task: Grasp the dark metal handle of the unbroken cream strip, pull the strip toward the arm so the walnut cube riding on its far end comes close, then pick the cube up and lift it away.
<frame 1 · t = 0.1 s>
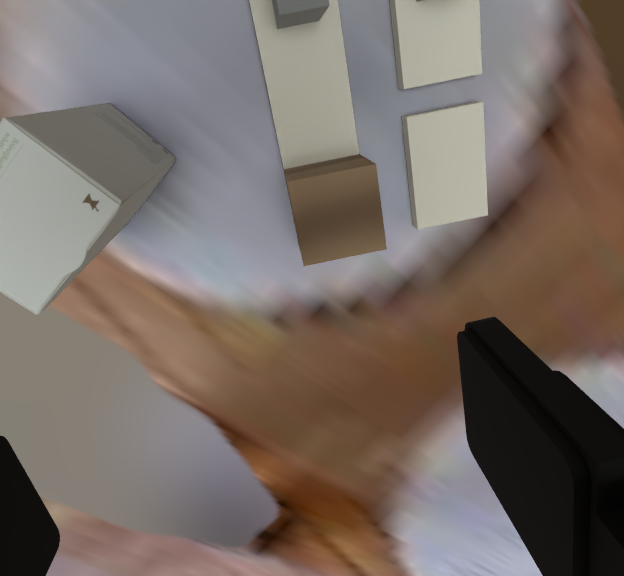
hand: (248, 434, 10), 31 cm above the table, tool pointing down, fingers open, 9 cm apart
broken strip: (437, 95, 37), on the table
walnut cube: (328, 199, 38), point 1 cm above the table, touching cream strip
cream strip: (317, 123, 33), point 4 cm above the table, slide at 0.0 cm, touching walnut cube
skincare box: (116, 173, 37), on the table
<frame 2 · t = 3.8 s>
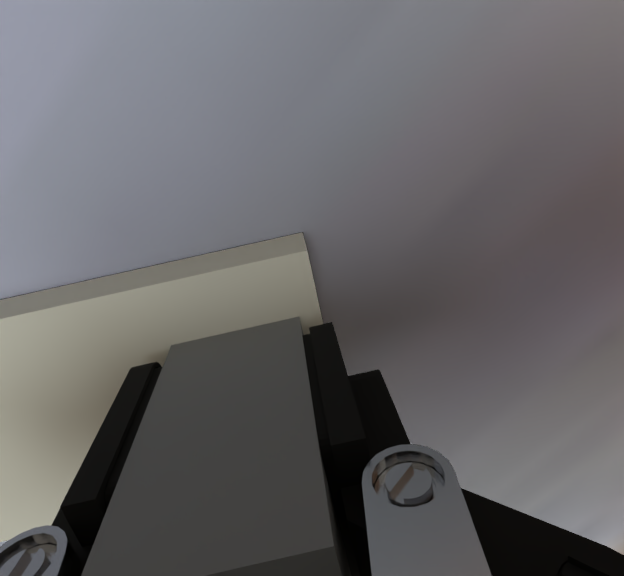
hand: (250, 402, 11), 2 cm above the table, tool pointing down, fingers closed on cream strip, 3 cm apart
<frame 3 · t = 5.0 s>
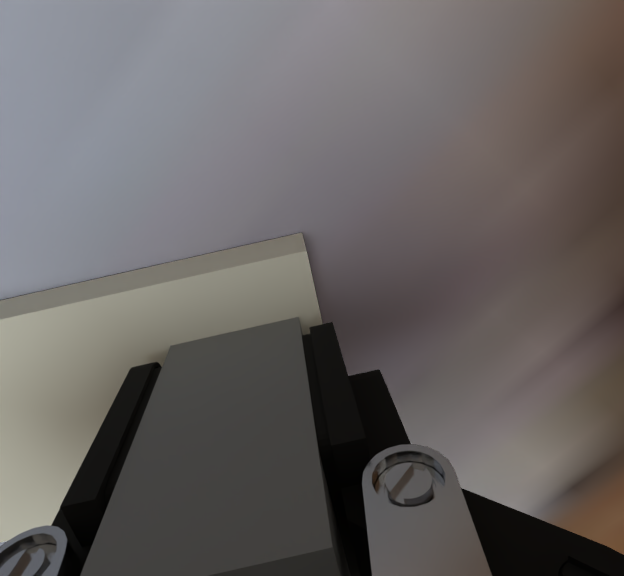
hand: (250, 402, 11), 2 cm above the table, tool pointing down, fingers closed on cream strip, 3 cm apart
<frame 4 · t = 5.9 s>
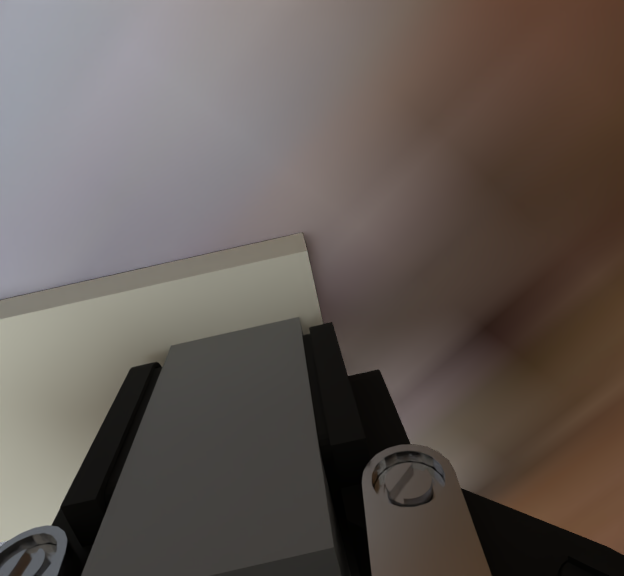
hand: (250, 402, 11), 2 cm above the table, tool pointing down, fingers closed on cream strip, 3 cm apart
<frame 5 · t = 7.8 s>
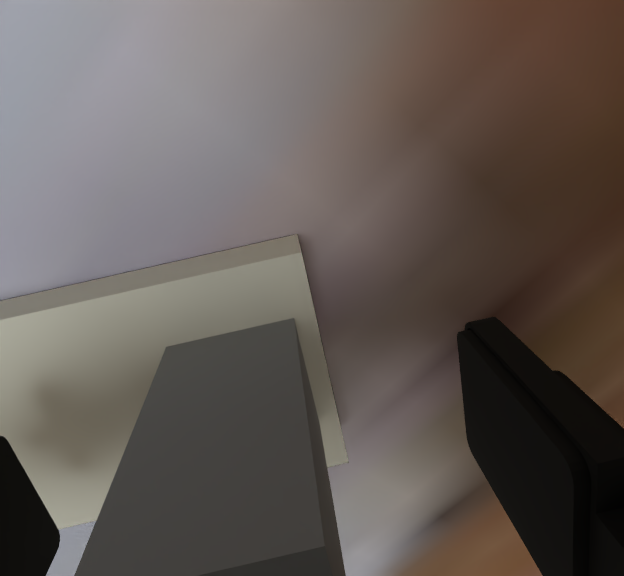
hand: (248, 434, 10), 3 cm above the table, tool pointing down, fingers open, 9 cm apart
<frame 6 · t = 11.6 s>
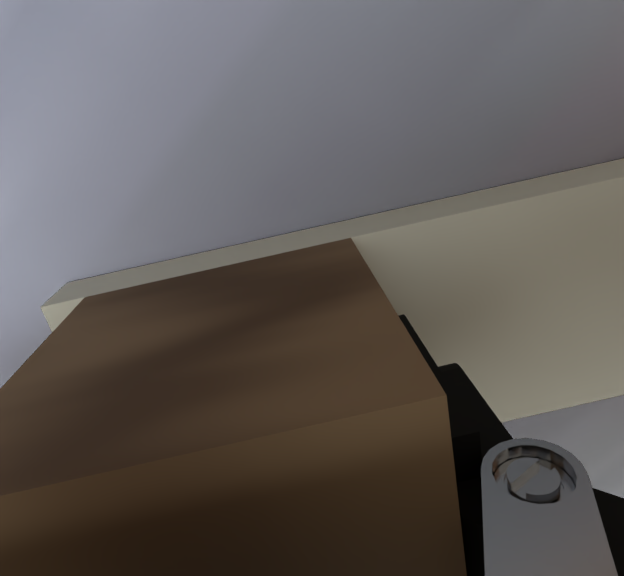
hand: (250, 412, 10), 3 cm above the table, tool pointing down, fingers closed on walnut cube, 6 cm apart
walnut cube: (251, 380, 12), point 2 cm above the table, touching cream strip, gripper
cream strip: (539, 376, 9), point 4 cm above the table, slide at 10.0 cm, touching walnut cube
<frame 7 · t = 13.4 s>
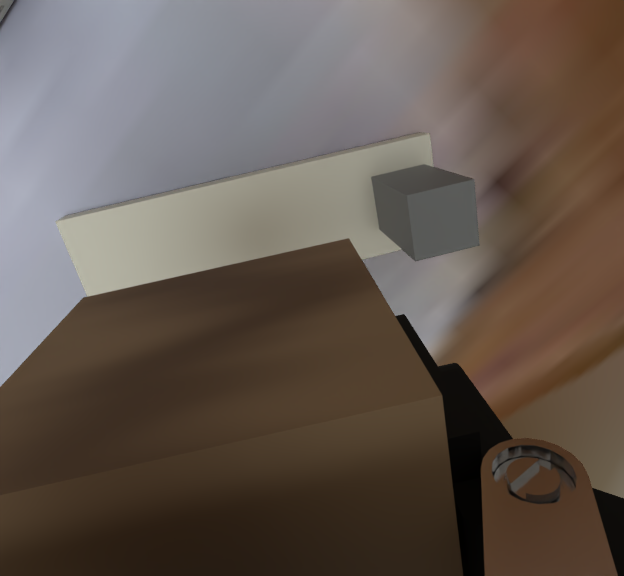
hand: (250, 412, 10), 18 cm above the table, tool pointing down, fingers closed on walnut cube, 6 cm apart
walnut cube: (250, 380, 12), point 17 cm above the table, touching gripper
cream strip: (262, 242, 24), point 4 cm above the table, slide at 10.0 cm
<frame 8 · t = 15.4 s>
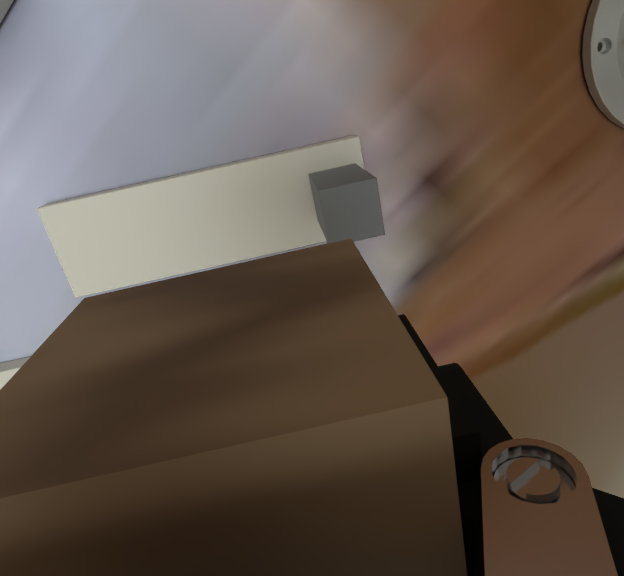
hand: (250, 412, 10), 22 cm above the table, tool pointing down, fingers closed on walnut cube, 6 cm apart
broken strip: (120, 374, 35), on the table
walnut cube: (251, 381, 12), point 21 cm above the table, touching gripper
cream strip: (208, 228, 28), point 4 cm above the table, slide at 10.0 cm
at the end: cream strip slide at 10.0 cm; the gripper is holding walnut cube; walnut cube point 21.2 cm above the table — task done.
